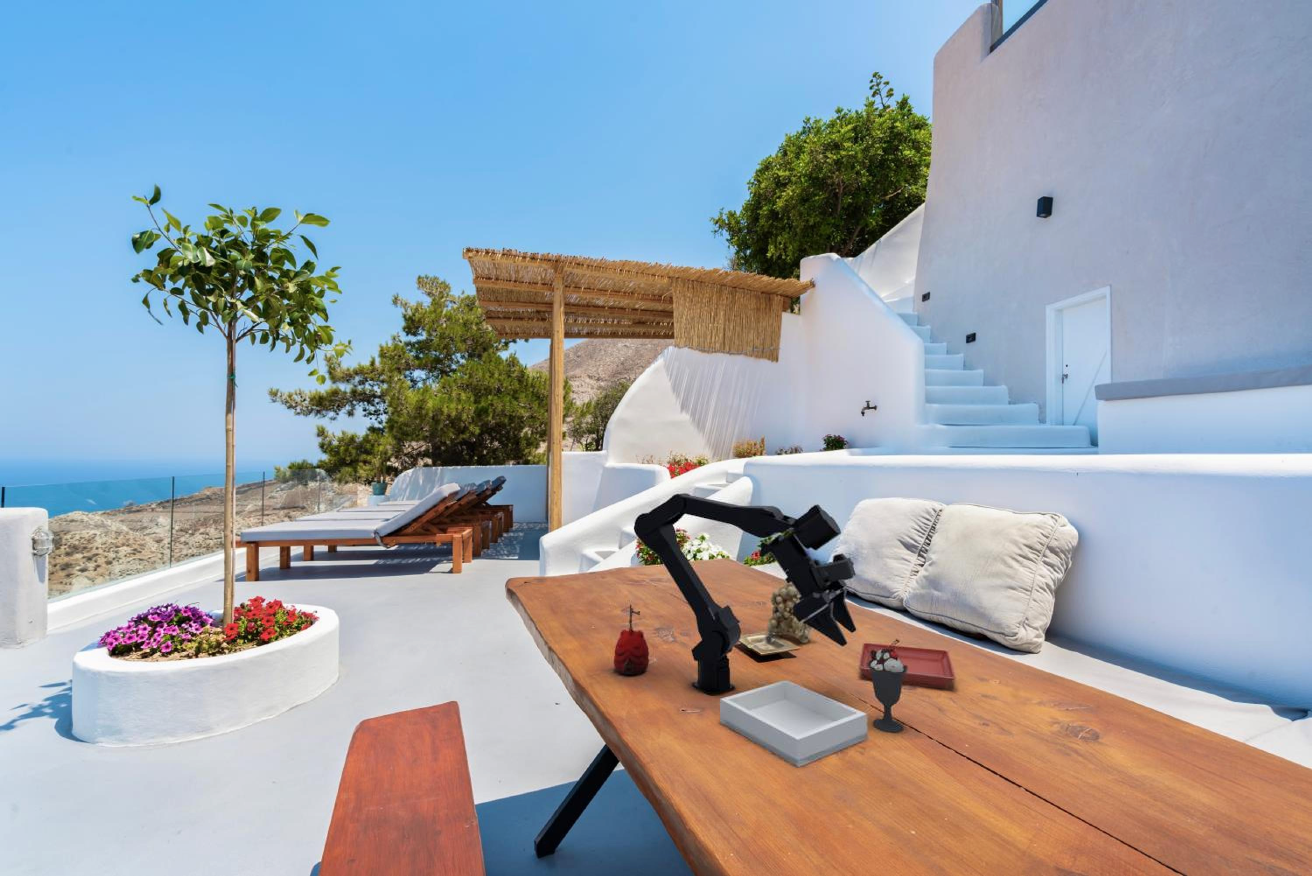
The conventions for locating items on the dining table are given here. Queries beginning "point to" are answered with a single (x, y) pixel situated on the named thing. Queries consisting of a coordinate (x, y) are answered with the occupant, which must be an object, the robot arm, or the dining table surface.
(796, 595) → the mineral formation
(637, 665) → the red fruit with stem
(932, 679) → the plant saucer
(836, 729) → the tray
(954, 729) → the dining table surface
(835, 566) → the robot arm
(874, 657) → the sundae
